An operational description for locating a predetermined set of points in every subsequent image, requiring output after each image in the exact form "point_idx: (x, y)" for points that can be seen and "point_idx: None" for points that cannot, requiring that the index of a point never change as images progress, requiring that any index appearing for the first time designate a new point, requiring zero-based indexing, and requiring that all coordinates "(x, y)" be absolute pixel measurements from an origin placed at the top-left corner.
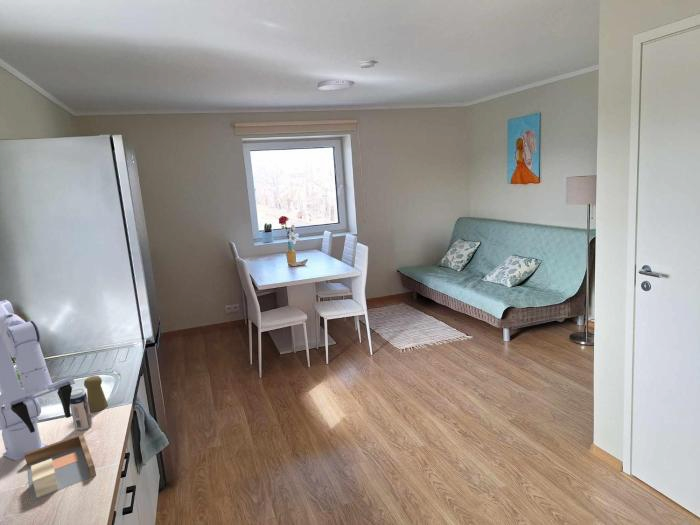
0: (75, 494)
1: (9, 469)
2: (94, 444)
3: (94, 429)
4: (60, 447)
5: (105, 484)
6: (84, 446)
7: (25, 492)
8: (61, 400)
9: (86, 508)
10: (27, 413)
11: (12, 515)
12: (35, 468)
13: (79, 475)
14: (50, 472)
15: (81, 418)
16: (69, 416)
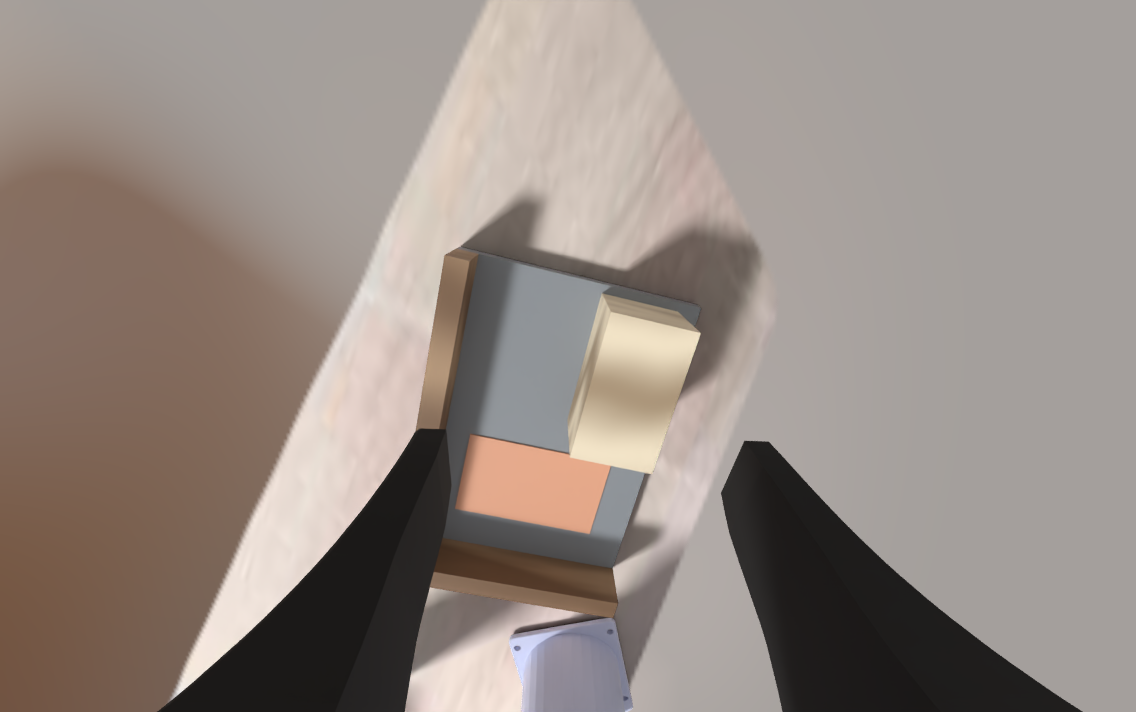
0: (563, 213)
1: (650, 605)
2: None
3: None
4: (493, 566)
5: (449, 162)
6: None
7: (675, 412)
8: (398, 685)
9: (573, 49)
10: (890, 626)
11: (761, 301)
12: (648, 434)
13: (507, 317)
14: (622, 333)
15: None
16: (427, 431)
